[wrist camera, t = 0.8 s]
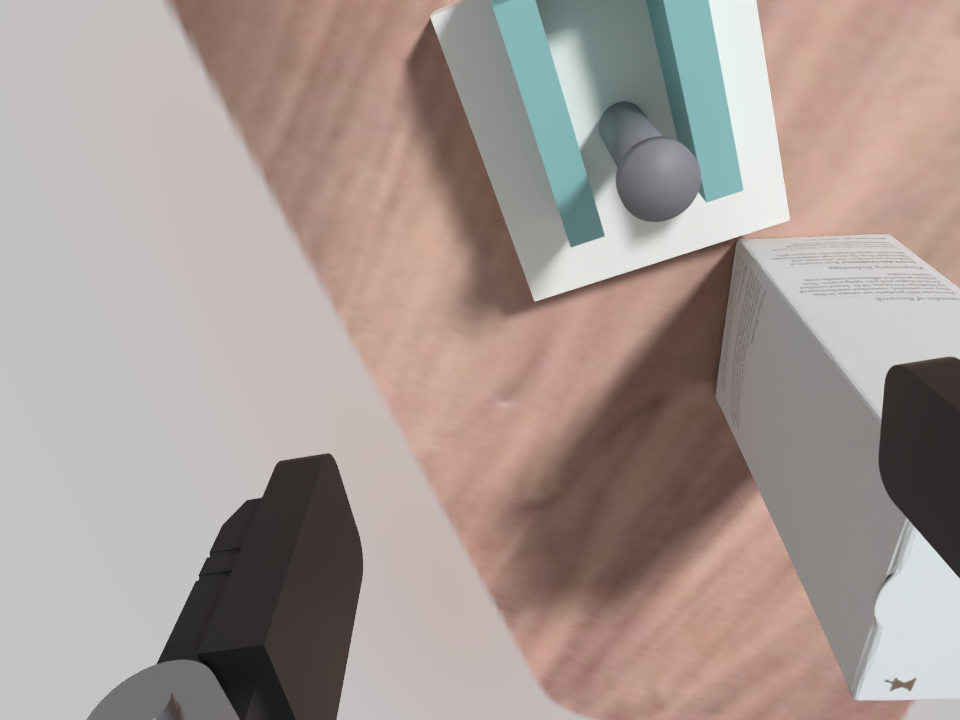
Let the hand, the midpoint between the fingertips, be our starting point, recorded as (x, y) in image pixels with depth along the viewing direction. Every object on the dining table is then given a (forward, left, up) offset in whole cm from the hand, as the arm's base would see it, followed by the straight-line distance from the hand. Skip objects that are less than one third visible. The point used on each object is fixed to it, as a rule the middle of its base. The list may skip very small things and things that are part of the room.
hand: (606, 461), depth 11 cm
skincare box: (+11, +8, -20) cm, 24 cm away
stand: (0, +3, -20) cm, 20 cm away
